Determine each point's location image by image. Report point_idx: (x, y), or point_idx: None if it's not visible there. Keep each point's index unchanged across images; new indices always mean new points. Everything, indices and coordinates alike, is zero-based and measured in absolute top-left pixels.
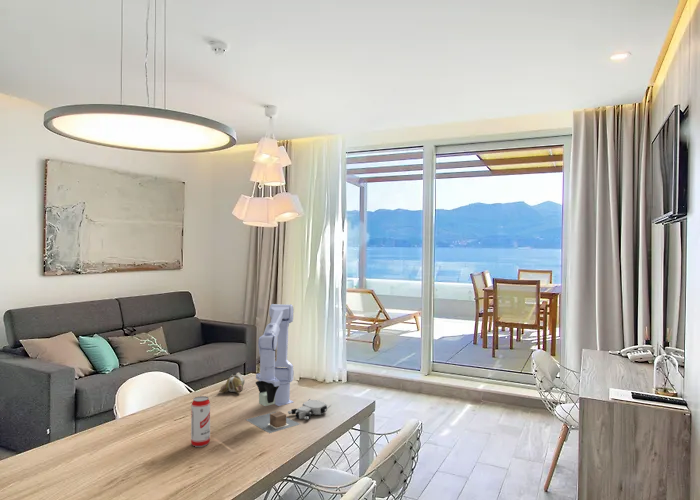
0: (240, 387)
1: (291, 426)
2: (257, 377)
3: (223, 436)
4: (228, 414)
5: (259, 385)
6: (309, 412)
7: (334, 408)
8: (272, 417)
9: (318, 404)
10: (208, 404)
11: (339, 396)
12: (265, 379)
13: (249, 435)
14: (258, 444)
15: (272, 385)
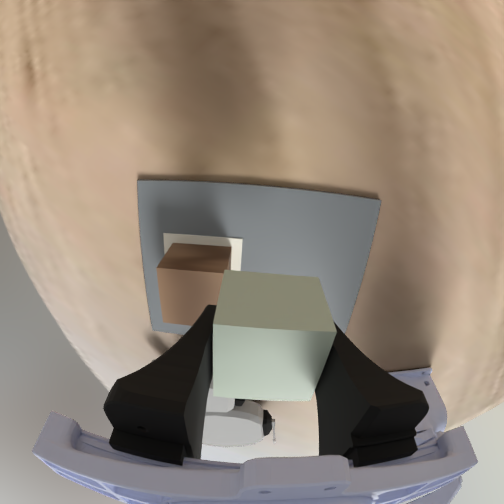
0: None
1: (148, 294)
2: (447, 447)
3: (279, 5)
4: (477, 199)
5: (356, 397)
6: None
7: None
8: (200, 264)
9: (204, 433)
10: None
11: None
12: (180, 498)
13: (193, 96)
14: (85, 87)
15: (113, 433)
